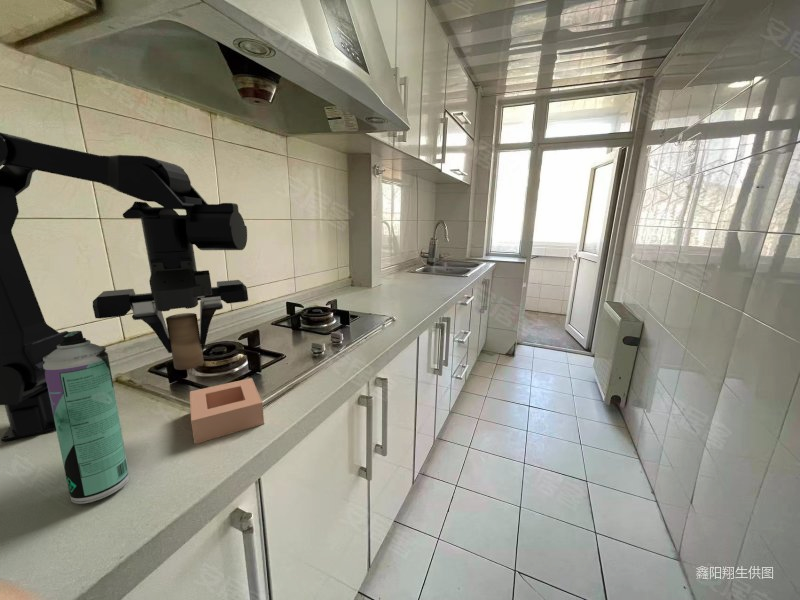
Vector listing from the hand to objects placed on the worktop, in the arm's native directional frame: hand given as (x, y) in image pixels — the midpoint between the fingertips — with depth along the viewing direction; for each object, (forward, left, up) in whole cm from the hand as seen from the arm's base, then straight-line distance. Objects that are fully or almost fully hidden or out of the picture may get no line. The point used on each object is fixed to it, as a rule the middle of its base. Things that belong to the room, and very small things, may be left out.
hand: (187, 349), depth 52 cm
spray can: (+10, -11, -13) cm, 20 cm away
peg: (0, 0, -3) cm, 2 cm away
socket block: (+1, +4, -13) cm, 14 cm away
